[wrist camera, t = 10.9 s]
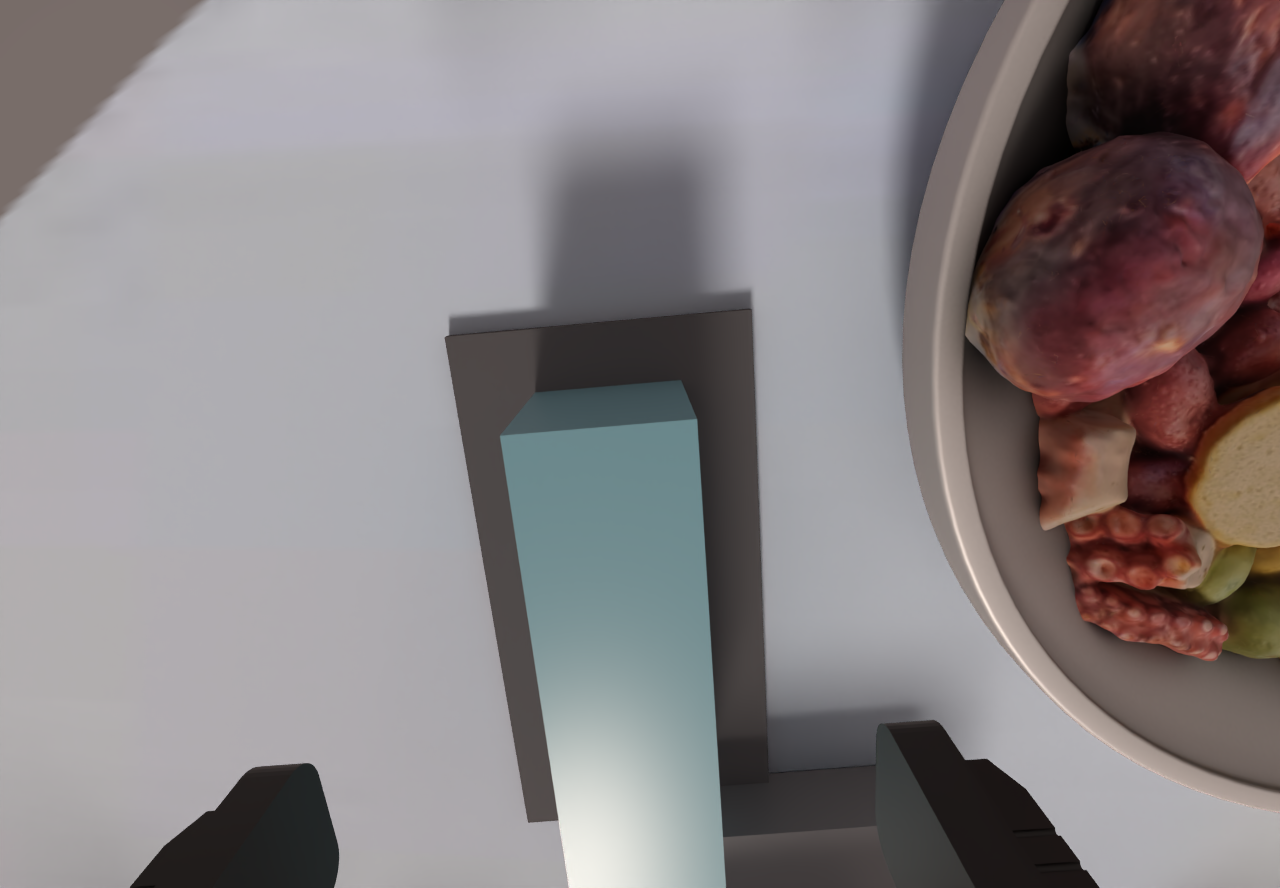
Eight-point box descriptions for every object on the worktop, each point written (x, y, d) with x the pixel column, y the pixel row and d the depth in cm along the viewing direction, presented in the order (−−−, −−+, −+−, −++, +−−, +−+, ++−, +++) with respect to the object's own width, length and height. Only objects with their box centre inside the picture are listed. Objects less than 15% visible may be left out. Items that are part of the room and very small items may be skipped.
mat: (749, 308, 18) (751, 309, 18) (767, 795, 23) (769, 804, 23) (448, 335, 18) (444, 336, 18) (529, 813, 23) (528, 822, 23)
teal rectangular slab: (681, 379, 18) (697, 419, 14) (706, 762, 22) (726, 897, 17) (535, 392, 19) (499, 435, 14) (585, 771, 22) (572, 908, 18)
